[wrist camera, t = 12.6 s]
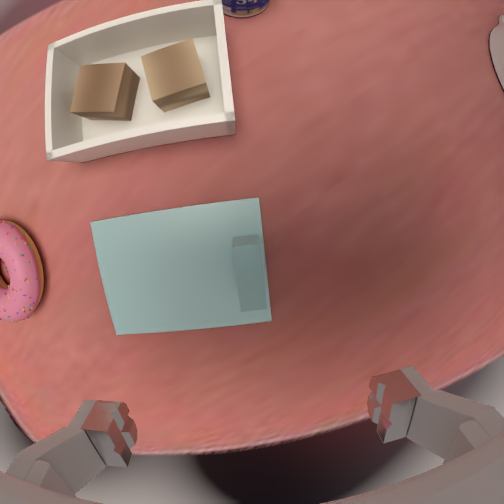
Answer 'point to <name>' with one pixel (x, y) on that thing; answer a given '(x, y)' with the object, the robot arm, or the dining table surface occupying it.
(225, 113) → the tub
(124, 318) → the lid
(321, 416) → the dining table surface
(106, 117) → the block
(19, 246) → the doughnut
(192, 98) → the block
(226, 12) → the pill bottle
